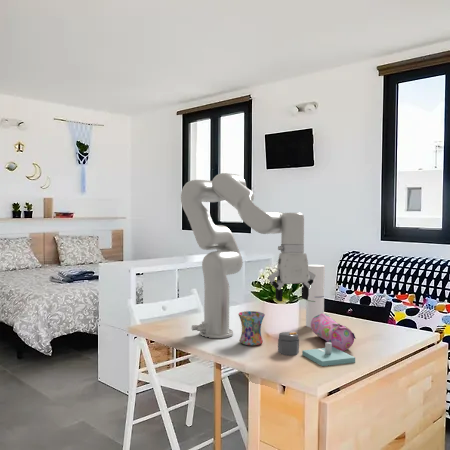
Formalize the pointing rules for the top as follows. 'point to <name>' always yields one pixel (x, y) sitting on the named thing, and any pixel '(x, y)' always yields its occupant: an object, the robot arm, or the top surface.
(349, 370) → the top surface
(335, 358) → the teal peg base
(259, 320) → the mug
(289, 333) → the knob
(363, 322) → the top surface
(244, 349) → the top surface
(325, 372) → the top surface
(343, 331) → the pencil case
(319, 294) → the cylindrical container
